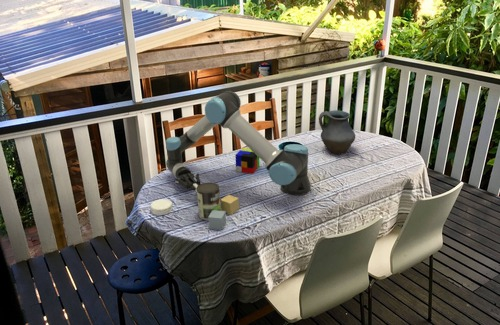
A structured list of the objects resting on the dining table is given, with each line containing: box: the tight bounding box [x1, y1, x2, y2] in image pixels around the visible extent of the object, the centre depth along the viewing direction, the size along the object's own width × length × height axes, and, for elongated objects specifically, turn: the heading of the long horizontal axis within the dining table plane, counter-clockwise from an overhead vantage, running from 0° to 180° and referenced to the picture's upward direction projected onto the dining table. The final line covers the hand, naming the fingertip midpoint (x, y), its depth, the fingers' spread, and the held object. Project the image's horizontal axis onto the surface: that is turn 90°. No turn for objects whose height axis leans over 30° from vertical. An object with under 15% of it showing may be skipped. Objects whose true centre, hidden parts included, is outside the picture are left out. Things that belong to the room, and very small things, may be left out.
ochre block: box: [220, 194, 240, 215], centre depth 209 cm, size 6×6×6 cm
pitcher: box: [318, 109, 356, 155], centre depth 264 cm, size 21×22×25 cm
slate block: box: [207, 210, 227, 231], centre depth 197 cm, size 6×6×6 cm
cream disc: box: [150, 198, 173, 216], centre depth 211 cm, size 10×10×4 cm
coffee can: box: [196, 181, 221, 221], centre depth 204 cm, size 10×10×14 cm
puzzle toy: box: [234, 147, 260, 175], centre depth 248 cm, size 10×10×10 cm
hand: (199, 191), depth 213 cm, fingers closed
